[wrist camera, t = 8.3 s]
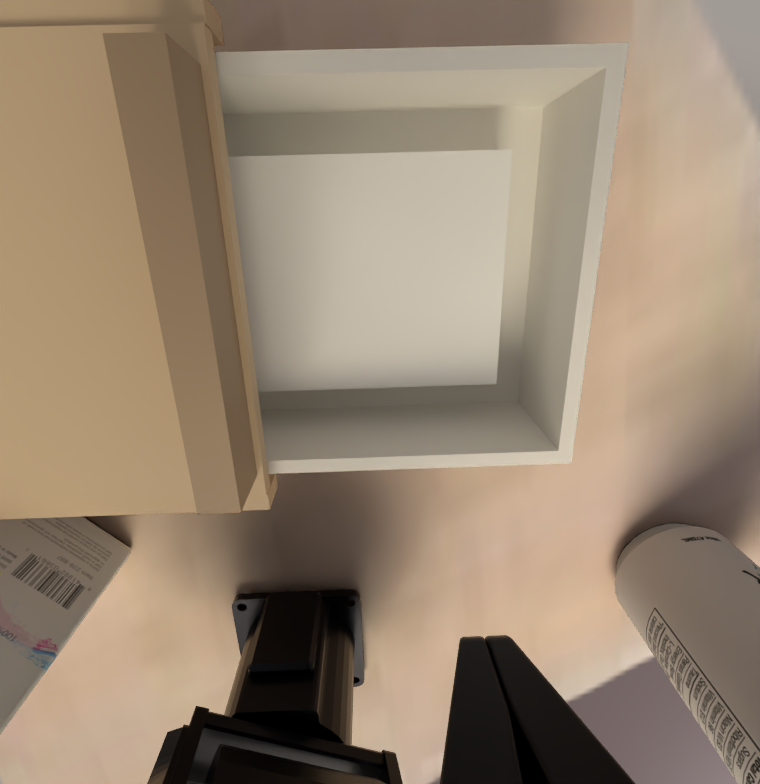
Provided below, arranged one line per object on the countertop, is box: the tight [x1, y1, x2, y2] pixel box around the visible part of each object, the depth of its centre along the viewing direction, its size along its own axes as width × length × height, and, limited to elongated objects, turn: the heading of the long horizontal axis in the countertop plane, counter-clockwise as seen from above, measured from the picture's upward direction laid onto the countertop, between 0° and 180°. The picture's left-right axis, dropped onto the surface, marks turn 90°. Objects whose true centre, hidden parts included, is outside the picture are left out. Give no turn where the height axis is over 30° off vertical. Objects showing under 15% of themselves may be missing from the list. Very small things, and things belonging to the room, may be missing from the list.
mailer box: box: [215, 43, 629, 474], centre depth 16 cm, size 12×14×5 cm
